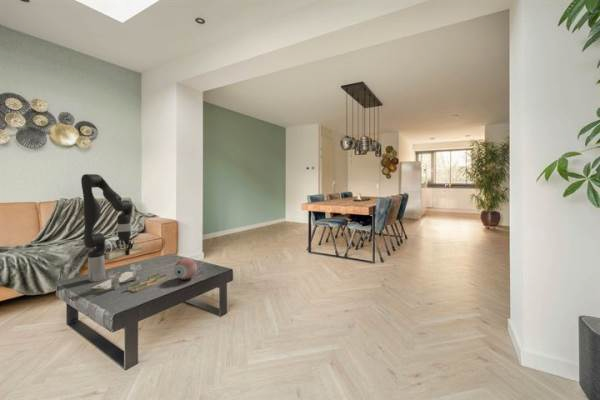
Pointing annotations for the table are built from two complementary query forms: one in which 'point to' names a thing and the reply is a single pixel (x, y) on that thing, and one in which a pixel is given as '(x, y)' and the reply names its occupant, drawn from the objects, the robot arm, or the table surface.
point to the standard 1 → (114, 279)
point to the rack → (146, 283)
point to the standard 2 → (135, 271)
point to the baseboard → (107, 284)
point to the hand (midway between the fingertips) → (125, 254)
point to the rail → (122, 252)
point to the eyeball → (185, 268)
